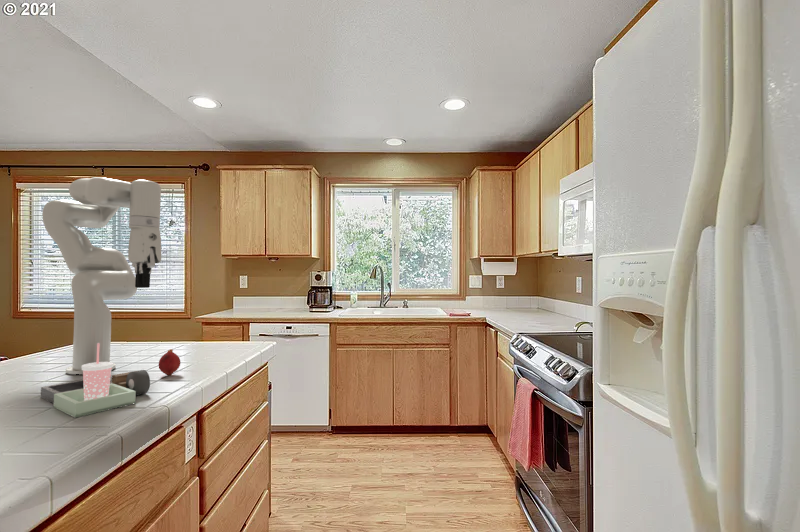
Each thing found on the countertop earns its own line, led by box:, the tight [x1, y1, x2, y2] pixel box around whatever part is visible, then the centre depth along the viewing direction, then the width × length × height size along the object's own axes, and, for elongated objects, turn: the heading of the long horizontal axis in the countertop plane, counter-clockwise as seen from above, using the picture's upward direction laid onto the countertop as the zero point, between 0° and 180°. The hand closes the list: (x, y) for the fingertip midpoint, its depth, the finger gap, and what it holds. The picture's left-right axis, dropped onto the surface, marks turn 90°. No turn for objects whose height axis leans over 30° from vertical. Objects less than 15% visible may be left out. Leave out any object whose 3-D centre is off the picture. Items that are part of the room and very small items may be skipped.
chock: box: [111, 370, 135, 388], centre depth 110 cm, size 5×6×4 cm
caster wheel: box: [126, 369, 151, 396], centre depth 106 cm, size 6×3×6 cm, turn 57°
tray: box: [53, 382, 137, 418], centre depth 97 cm, size 12×12×3 cm
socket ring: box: [40, 379, 84, 404], centre depth 104 cm, size 10×10×2 cm
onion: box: [158, 348, 181, 376], centre depth 126 cm, size 6×6×8 cm
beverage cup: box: [82, 343, 114, 401], centre depth 97 cm, size 6×6×14 cm
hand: (142, 287), depth 118 cm, fingers closed
